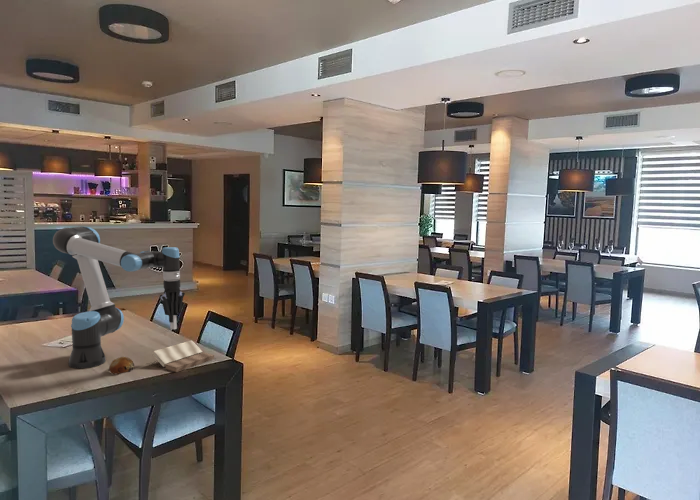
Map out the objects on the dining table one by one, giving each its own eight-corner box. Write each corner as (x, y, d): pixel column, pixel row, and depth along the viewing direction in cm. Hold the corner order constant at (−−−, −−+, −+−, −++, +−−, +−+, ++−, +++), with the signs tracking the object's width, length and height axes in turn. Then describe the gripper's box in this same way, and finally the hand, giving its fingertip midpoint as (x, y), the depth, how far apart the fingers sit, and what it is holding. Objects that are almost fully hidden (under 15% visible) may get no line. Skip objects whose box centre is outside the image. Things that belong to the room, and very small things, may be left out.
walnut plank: (176, 372, 215) (176, 367, 215) (165, 368, 219) (165, 364, 219) (214, 359, 234) (214, 354, 234) (203, 356, 238) (203, 352, 238)
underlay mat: (176, 374, 214) (176, 373, 214) (144, 365, 225) (144, 364, 225) (217, 359, 234) (217, 358, 234) (186, 352, 246) (186, 351, 246)
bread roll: (130, 374, 224) (126, 357, 225) (140, 369, 217) (135, 352, 219) (108, 379, 216) (104, 362, 218) (117, 375, 210) (113, 357, 211)
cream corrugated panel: (163, 367, 220) (164, 363, 219) (152, 354, 223) (153, 351, 223) (201, 354, 238) (202, 351, 238) (190, 343, 242) (191, 340, 241)
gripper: (165, 282, 222) (167, 332, 224) (188, 278, 233) (189, 326, 235) (154, 281, 226) (156, 330, 228) (177, 277, 237) (179, 324, 239)
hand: (173, 328), depth 231 cm, fingers closed
